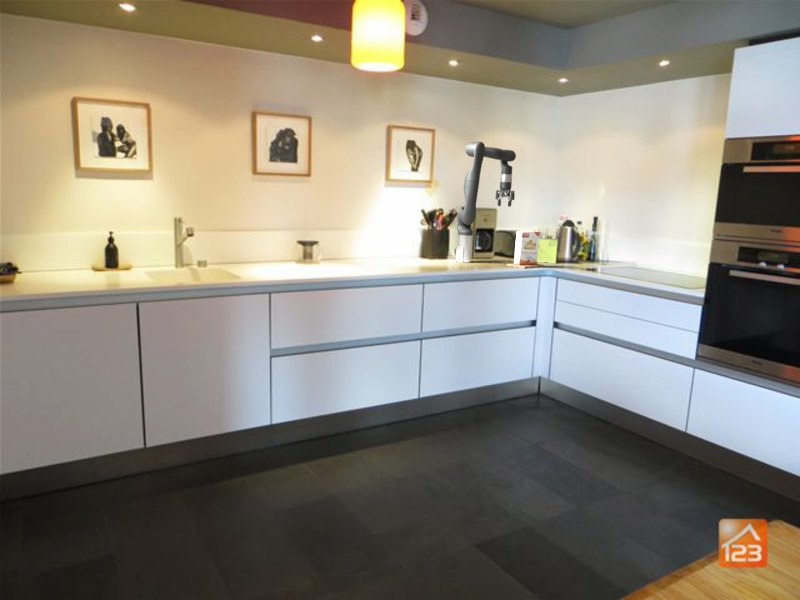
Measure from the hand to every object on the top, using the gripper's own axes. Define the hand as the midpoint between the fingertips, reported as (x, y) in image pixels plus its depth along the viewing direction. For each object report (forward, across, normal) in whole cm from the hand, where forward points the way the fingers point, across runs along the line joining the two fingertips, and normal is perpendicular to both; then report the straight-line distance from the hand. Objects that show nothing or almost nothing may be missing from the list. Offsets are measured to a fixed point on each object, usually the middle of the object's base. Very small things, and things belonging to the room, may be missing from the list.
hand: (504, 206), depth 386 cm
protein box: (+36, +20, +23) cm, 47 cm away
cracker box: (+35, +31, -13) cm, 49 cm away
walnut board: (+36, +31, -13) cm, 49 cm away
